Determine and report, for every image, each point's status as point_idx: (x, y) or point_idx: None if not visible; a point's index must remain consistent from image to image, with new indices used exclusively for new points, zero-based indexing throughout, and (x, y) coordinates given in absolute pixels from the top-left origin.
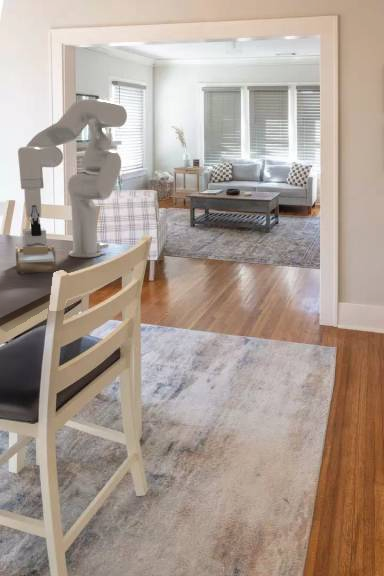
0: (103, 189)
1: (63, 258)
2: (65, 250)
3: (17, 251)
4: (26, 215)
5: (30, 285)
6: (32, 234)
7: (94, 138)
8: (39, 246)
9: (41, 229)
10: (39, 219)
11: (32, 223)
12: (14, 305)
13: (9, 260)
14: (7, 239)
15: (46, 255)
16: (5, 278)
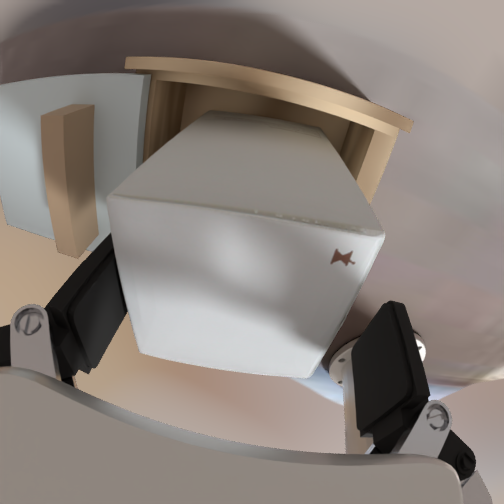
0: None
1: (380, 305)
2: (467, 333)
3: (152, 69)
4: (6, 403)
5: None
6: (108, 241)
7: None
8: (57, 214)
9: (192, 350)
10: (360, 436)
11: (18, 319)
12: None
13: (478, 118)
14: None
15: (49, 213)
16: (105, 15)
